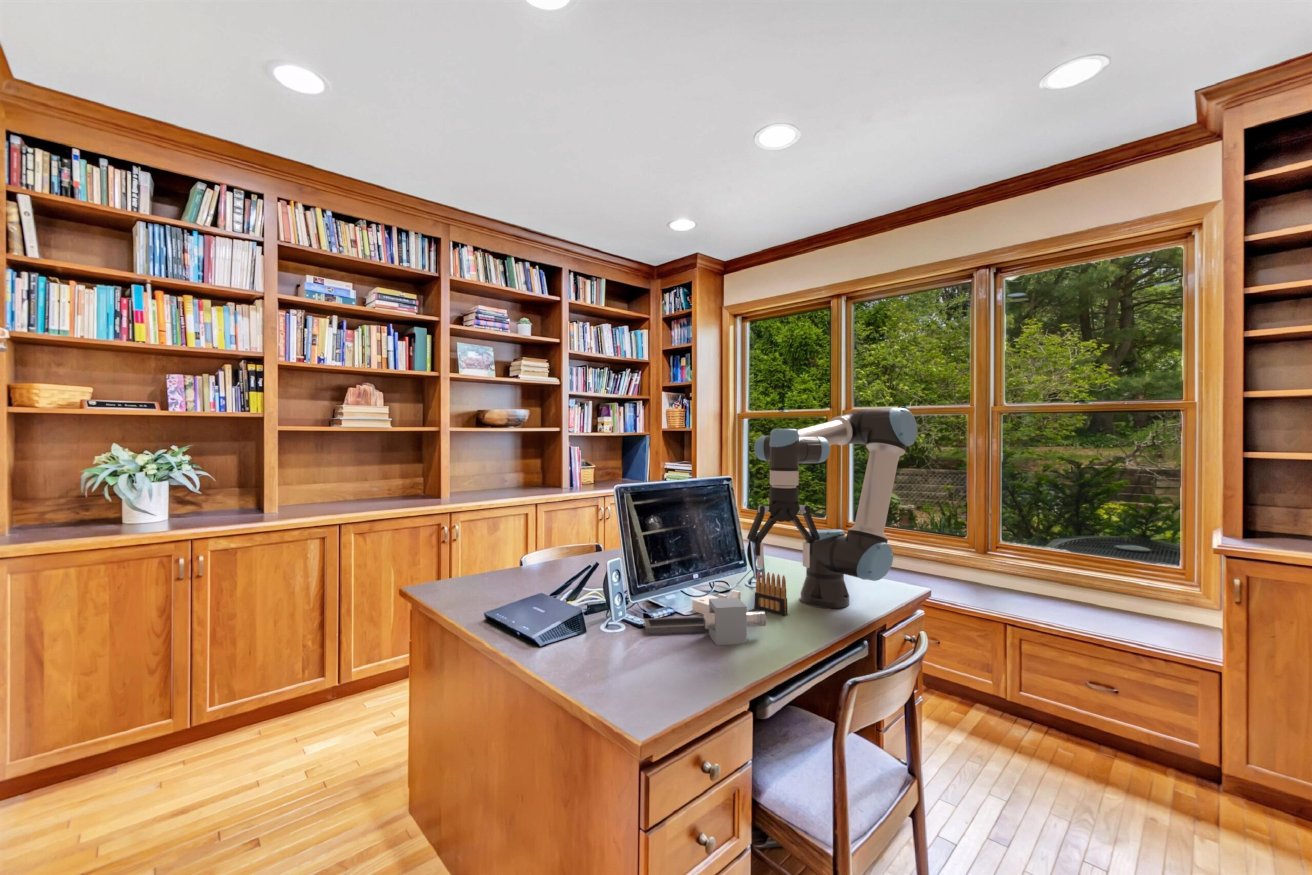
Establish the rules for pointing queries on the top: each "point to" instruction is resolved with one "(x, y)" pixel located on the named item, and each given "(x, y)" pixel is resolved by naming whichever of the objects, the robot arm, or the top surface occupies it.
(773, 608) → the ammunition clip
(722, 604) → the gray rectangular block
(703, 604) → the bracket
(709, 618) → the axle
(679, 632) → the dark brown shallow tray
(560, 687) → the top surface
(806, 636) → the top surface
